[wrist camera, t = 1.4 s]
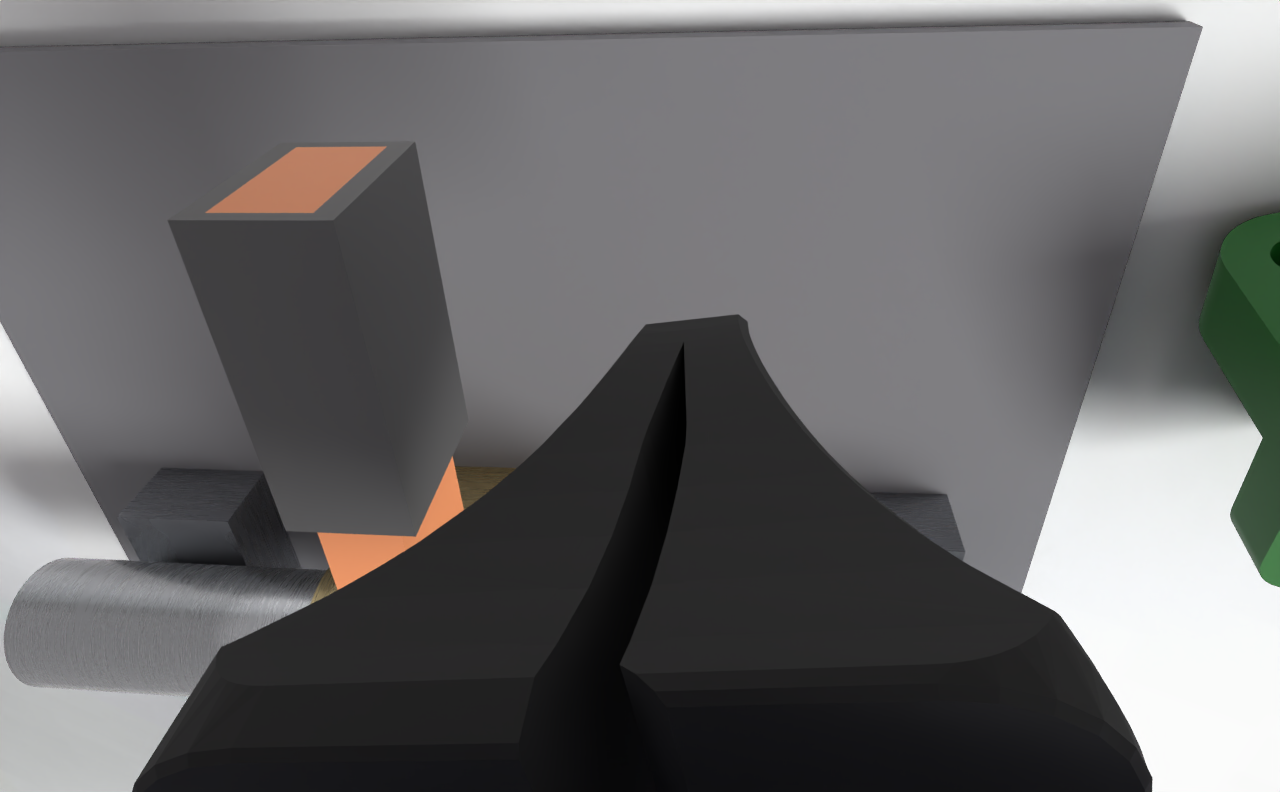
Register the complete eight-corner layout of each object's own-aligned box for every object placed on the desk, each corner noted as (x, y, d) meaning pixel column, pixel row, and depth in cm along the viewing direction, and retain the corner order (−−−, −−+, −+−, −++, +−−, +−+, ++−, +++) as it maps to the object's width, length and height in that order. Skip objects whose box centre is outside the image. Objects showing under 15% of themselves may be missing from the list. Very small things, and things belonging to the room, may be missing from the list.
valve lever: (548, 755, 19) (516, 911, 16) (453, 749, 19) (406, 902, 16) (439, 131, 11) (340, 232, 8) (280, 133, 11) (132, 230, 8)
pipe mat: (988, 667, 25) (992, 681, 24) (178, 623, 27) (170, 635, 27) (1189, 21, 15) (1202, 26, 14) (-123, 49, 17) (-144, 55, 17)
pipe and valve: (973, 626, 23) (1031, 822, 19) (172, 586, 26) (49, 751, 21) (1012, 484, 20) (1093, 676, 16) (105, 454, 23) (-56, 612, 18)
